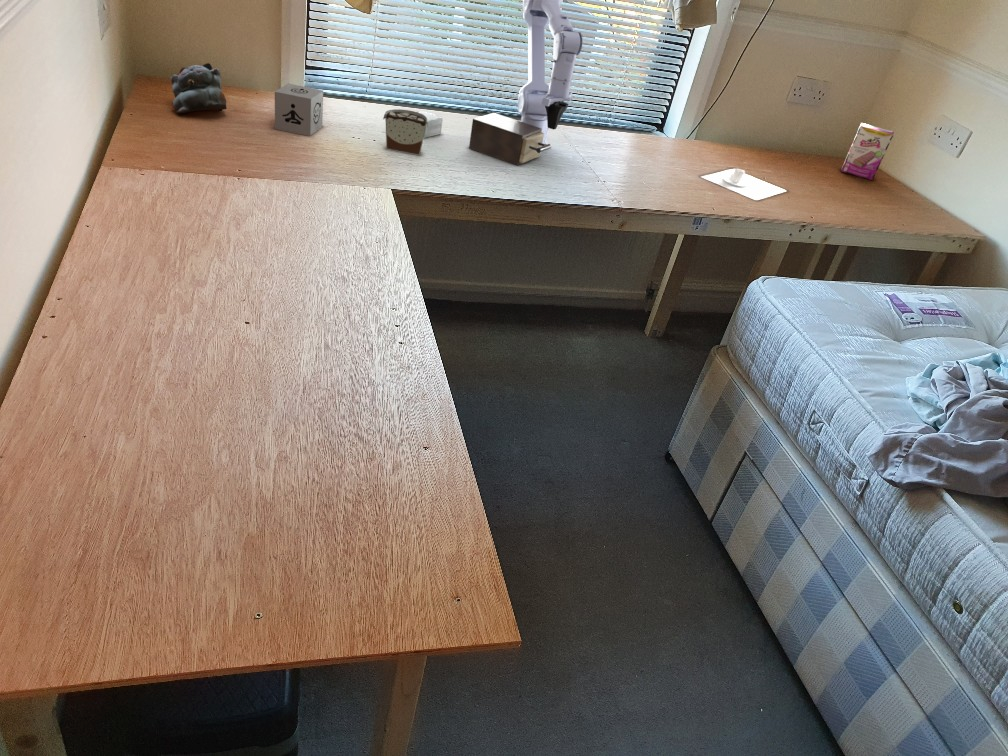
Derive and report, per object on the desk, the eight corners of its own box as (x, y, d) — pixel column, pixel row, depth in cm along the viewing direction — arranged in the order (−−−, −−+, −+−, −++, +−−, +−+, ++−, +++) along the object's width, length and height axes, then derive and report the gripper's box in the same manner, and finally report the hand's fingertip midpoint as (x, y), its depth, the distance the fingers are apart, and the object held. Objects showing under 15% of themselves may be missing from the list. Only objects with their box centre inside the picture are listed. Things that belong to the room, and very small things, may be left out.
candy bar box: (840, 172, 266) (860, 125, 257) (841, 168, 270) (860, 122, 261) (873, 181, 263) (894, 133, 254) (873, 177, 267) (894, 130, 258)
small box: (421, 126, 232) (423, 109, 229) (441, 134, 229) (443, 117, 226) (404, 130, 226) (406, 113, 224) (424, 138, 223) (426, 120, 220)
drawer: (551, 160, 222) (555, 137, 219) (534, 167, 215) (538, 143, 211) (495, 140, 229) (498, 118, 225) (476, 147, 221) (480, 123, 218)
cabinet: (536, 157, 225) (542, 128, 220) (517, 165, 216) (522, 135, 212) (489, 141, 231) (493, 112, 226) (468, 148, 222) (472, 118, 217)
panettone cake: (428, 149, 215) (432, 114, 210) (425, 156, 210) (428, 120, 205) (385, 141, 215) (388, 105, 210) (381, 148, 210) (383, 111, 204)
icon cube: (288, 119, 217) (288, 83, 212) (322, 126, 217) (323, 90, 212) (274, 128, 209) (274, 91, 204) (310, 136, 209) (311, 98, 203)
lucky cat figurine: (164, 114, 204) (155, 60, 202) (186, 121, 216) (177, 70, 214) (217, 107, 203) (208, 52, 201) (237, 114, 215) (228, 63, 212)
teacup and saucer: (732, 176, 241) (736, 163, 239) (753, 185, 237) (758, 172, 234) (717, 180, 235) (721, 167, 233) (739, 189, 231) (744, 176, 229)
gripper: (562, 85, 201) (552, 136, 209) (585, 79, 212) (575, 128, 220) (539, 78, 204) (530, 129, 211) (563, 72, 215) (553, 121, 222)
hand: (551, 128), depth 216 cm, fingers closed
